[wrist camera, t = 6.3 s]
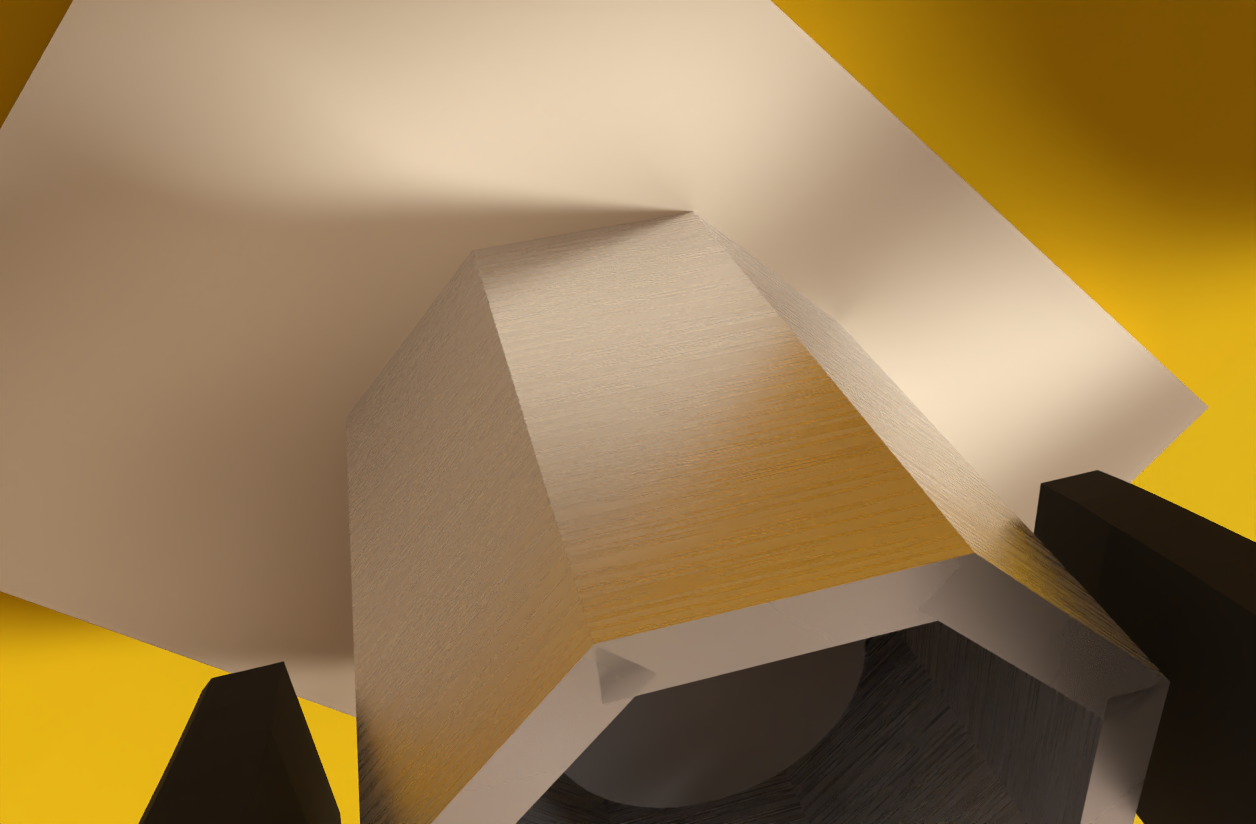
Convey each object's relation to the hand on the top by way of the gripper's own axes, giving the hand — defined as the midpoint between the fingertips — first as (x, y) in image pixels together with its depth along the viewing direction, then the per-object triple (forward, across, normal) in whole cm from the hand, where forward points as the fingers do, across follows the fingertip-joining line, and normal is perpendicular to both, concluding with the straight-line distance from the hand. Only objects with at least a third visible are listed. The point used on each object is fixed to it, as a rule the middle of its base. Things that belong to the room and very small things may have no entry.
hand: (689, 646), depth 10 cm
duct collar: (+3, 0, 0) cm, 3 cm away
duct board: (+4, 0, 0) cm, 4 cm away
